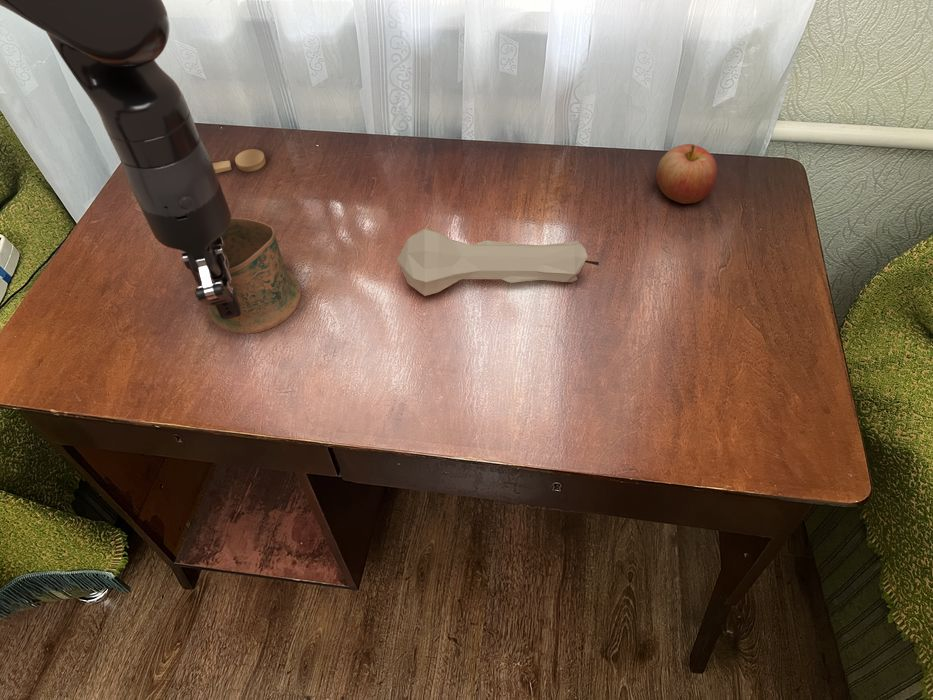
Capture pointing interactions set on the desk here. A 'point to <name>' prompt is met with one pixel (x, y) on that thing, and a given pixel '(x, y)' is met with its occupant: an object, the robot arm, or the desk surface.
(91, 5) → the robot arm
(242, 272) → the mug
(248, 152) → the spoon
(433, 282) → the faceted club
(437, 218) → the desk surface
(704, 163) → the apple
